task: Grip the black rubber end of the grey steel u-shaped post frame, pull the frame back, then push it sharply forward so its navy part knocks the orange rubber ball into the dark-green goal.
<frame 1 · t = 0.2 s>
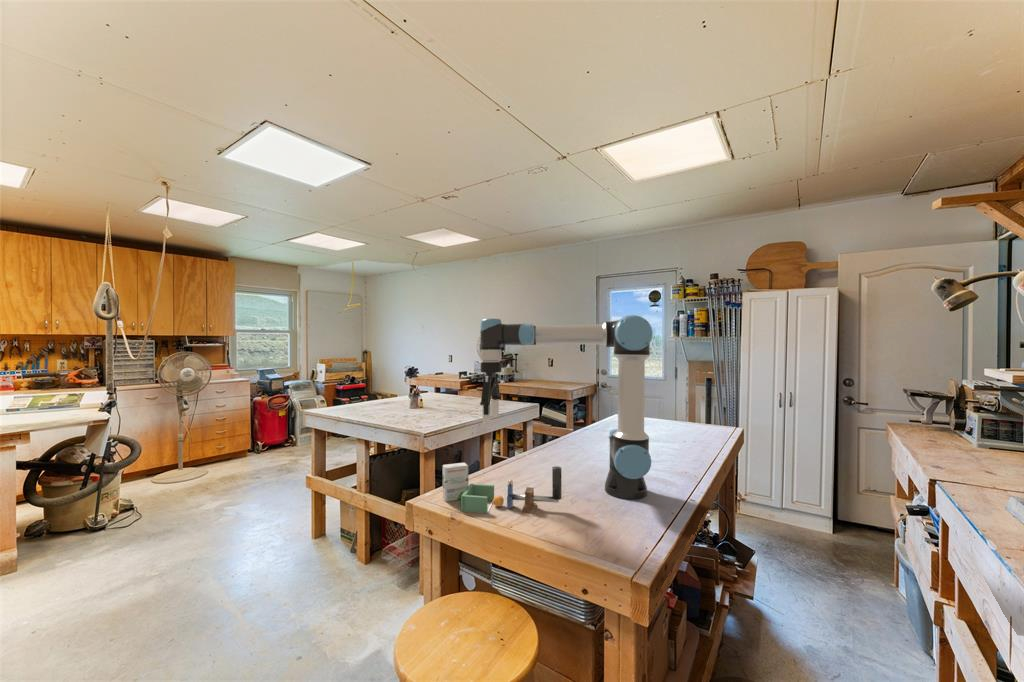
hand: (491, 420, 141), 28 cm above the workbench, fingers open, 13 cm apart
goal: (476, 504, 134), on the workbench
bearing block: (529, 508, 131), on the workbench
ink box: (455, 498, 140), on the workbench
ball: (498, 501, 133), point 2 cm above the workbench
u-shaped post frame: (534, 487, 131), point 7 cm above the workbench, slide at 3.0 cm
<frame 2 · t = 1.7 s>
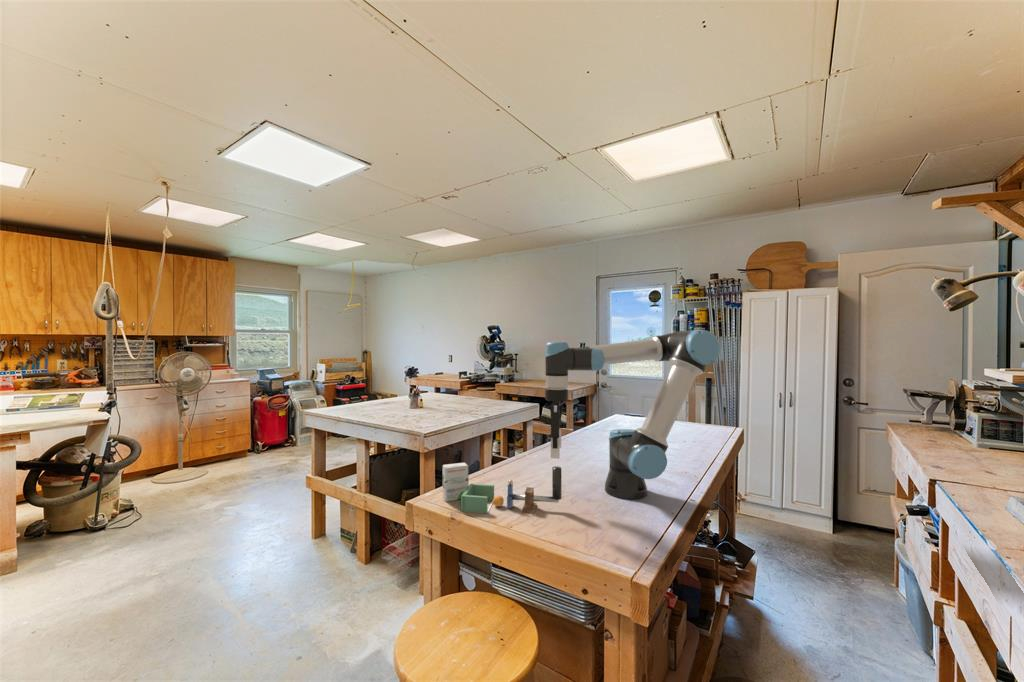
hand: (556, 452, 130), 19 cm above the workbench, fingers open, 13 cm apart
nothing on the workbench moved.
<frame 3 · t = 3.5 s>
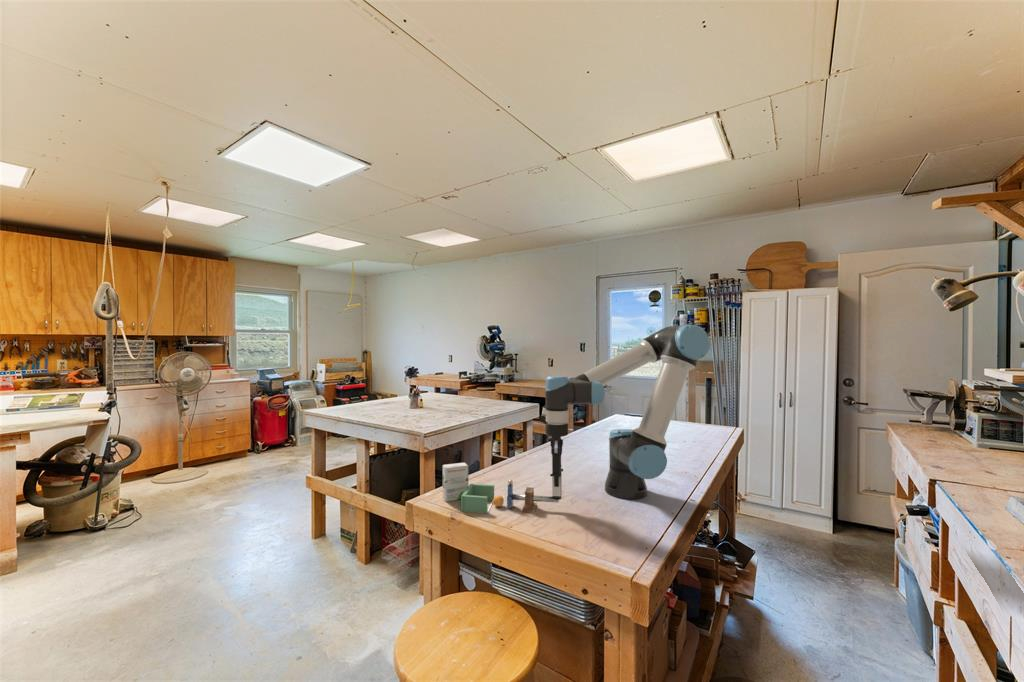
hand: (556, 493, 129), 6 cm above the workbench, fingers closed on u-shaped post frame, 3 cm apart
u-shaped post frame: (534, 487, 131), point 7 cm above the workbench, slide at 3.0 cm, touching gripper
everything else where it was.
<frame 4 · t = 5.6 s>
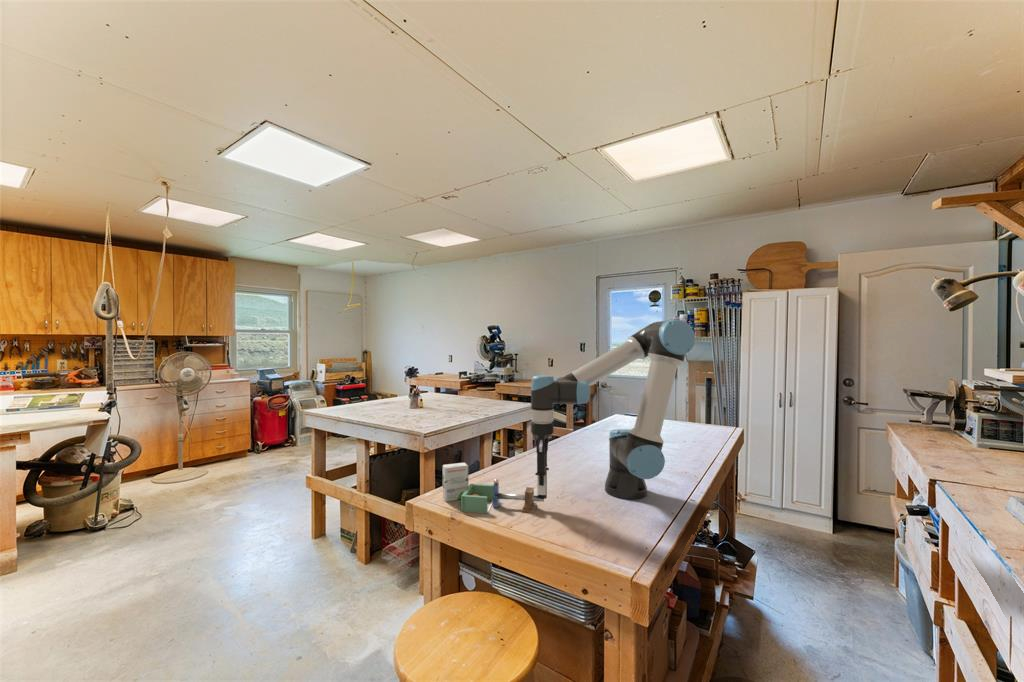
hand: (542, 492, 130), 6 cm above the workbench, fingers closed on u-shaped post frame, 3 cm apart
ball: (474, 499, 134), point 2 cm above the workbench, tilted 110°
u-shaped post frame: (520, 486, 132), point 7 cm above the workbench, slide at 7.9 cm, touching gripper
everything else where it was.
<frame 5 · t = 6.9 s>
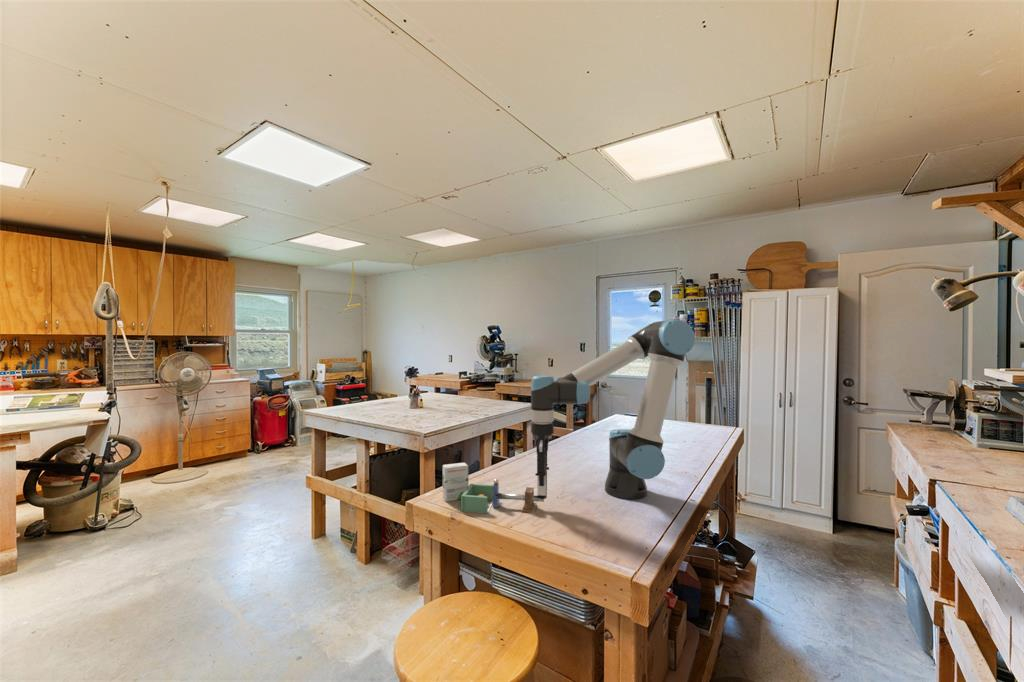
hand: (542, 492, 130), 6 cm above the workbench, fingers open, 4 cm apart
ball: (480, 499, 134), point 2 cm above the workbench, tilted 179°
u-shaped post frame: (519, 486, 132), point 7 cm above the workbench, slide at 7.9 cm
everything else where it was.
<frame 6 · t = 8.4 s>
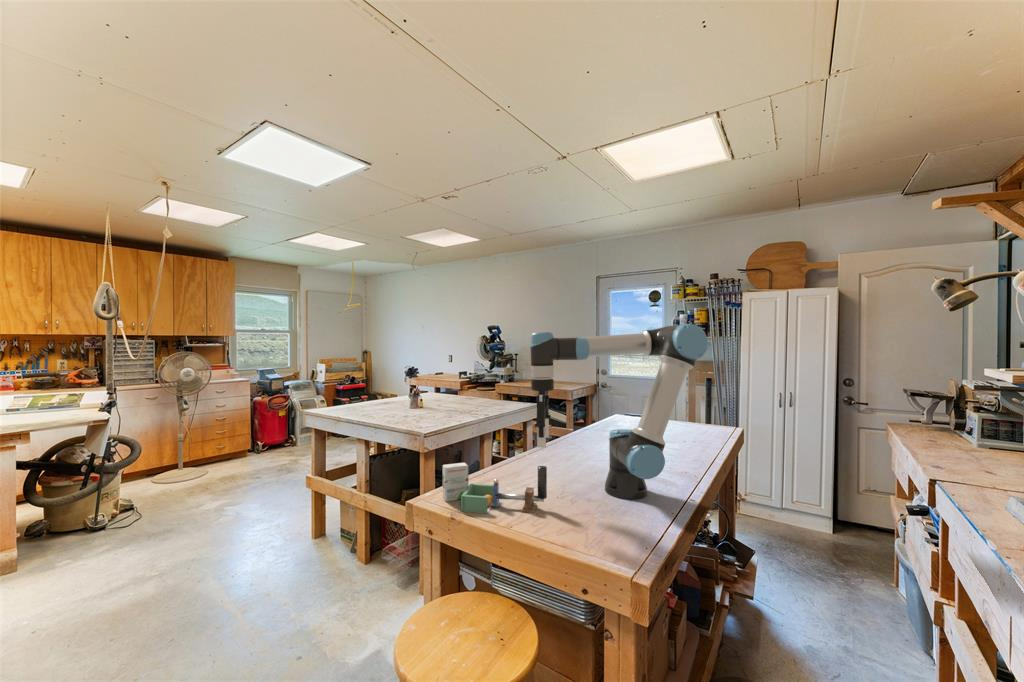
hand: (543, 442, 131), 22 cm above the workbench, fingers open, 13 cm apart
ball: (487, 500, 133), point 2 cm above the workbench, tilted 102°
everything else where it was.
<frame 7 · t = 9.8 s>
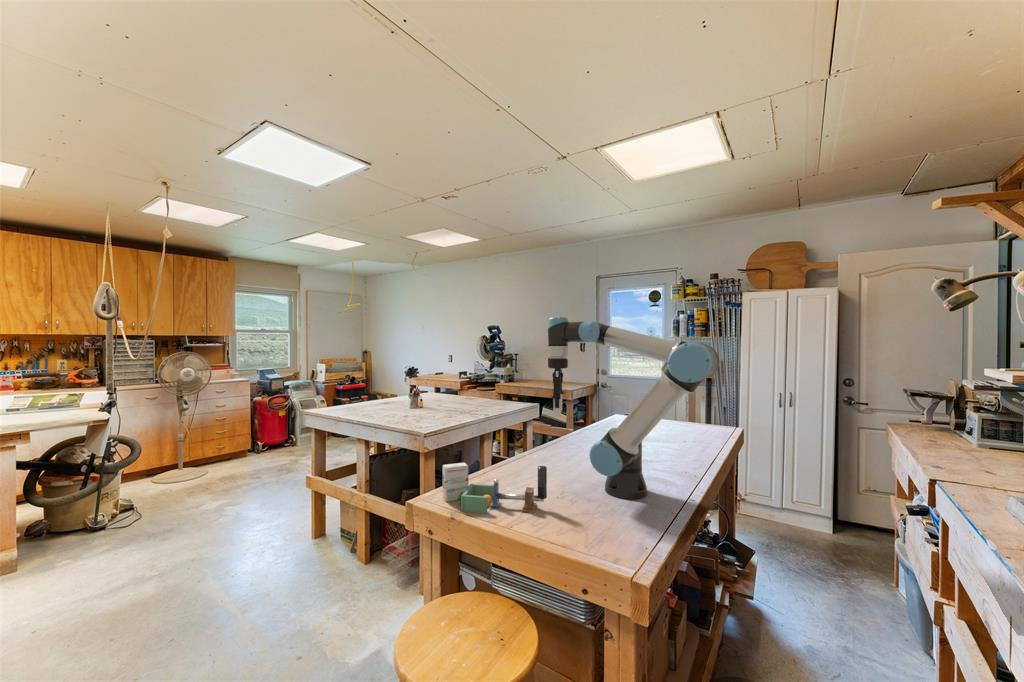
hand: (558, 413, 149), 29 cm above the workbench, fingers open, 13 cm apart
ball: (486, 500, 133), point 2 cm above the workbench, tilted 113°
everything else where it was.
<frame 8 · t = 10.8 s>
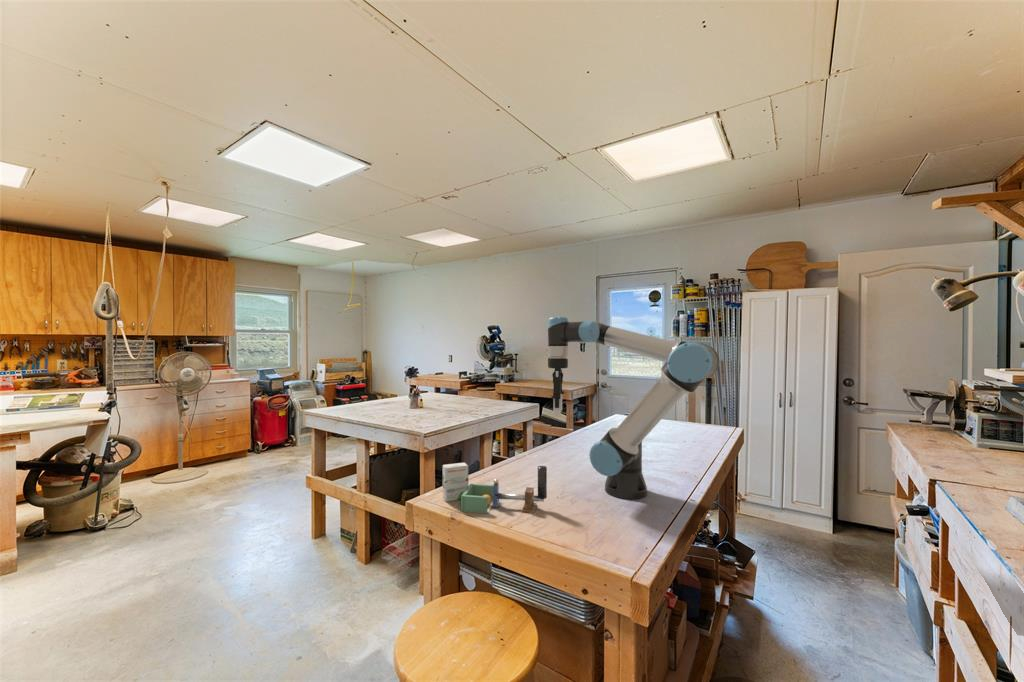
hand: (558, 413, 149), 29 cm above the workbench, fingers open, 13 cm apart
ball: (486, 500, 133), point 2 cm above the workbench, tilted 121°
everything else where it was.
at the end: ball inside the target area on the goal (2.1 cm from its centre), point 1.8 cm above the goal's base; u-shaped post frame slide at 7.9 cm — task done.
